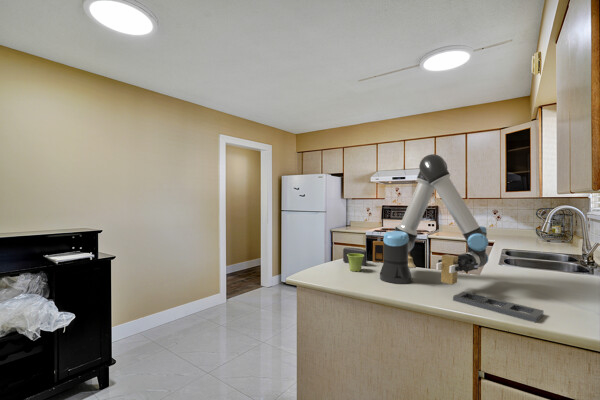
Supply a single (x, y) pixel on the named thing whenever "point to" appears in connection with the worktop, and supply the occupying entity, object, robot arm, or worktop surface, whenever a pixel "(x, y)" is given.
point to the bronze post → (445, 275)
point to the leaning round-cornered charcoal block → (356, 251)
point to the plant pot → (355, 261)
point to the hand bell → (410, 261)
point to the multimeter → (378, 250)
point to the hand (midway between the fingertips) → (443, 268)
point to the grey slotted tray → (505, 309)
